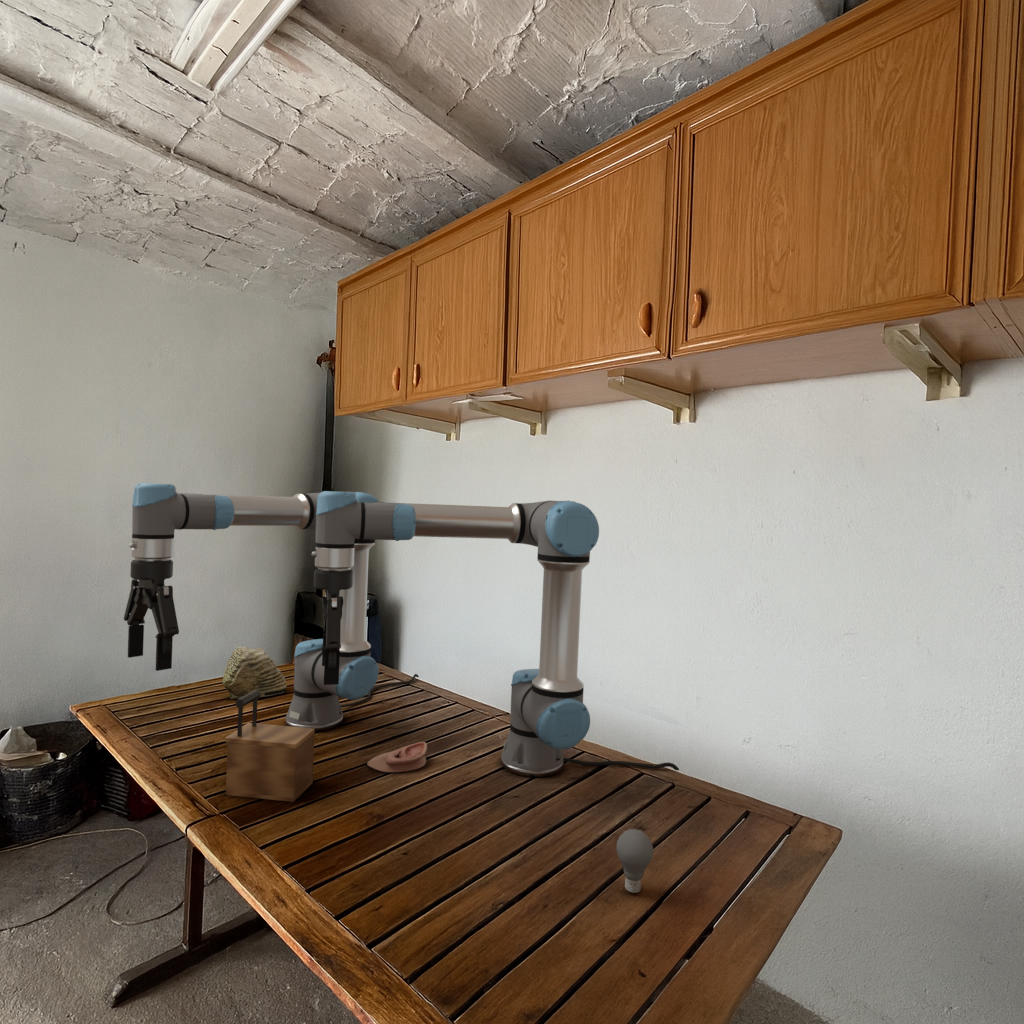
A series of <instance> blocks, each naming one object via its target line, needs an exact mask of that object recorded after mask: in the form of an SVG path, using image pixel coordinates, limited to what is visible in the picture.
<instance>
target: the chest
mask: <svg viewBox="0 0 1024 1024" xmlns="http://www.w3.org/2000/svg"><path fill="white" fill-rule="evenodd" d="M315 735H316V732H315V733H313V734H312V735H311V736H310V737H309V738H307V739H306V740H305V741H304V742H303V743H301V744H300V745H299V746H298V747H297V748H285V747H274V746H263V745H253V744H242V743H232V742H227V745H226V746H227V747H226V775H225V777H226V779H225V795H226V796H232V797H242V798H250V799H251V798H252V799H261V800H270V801H279V802H281V801H282V802H291V803H294V802H295V801H296V800H298V798H300V796H301V795H302V794H303V793H304V792H305V791H307V789H308V788H309V787H310V786H312V784H313V783H314V782H313V781H314V759H315V758H314V757H315Z"/></svg>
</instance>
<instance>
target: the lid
mask: <svg viewBox="0 0 1024 1024" xmlns="http://www.w3.org/2000/svg"><path fill="white" fill-rule="evenodd" d="M259 698H261V697H260V691H259V690H254V691H252V692H250V693H248V694H247V695H245V696H243V697H241V698H237V699H236V701H235V702H234V703H235V707H236V708H237V729H236V730H235V731H233V732H232V733H229V734H228V735H227V736H225V737H224V742H225V743H228V742H232V743H242V744H253V745H263V746H274V747H285V748H297V747H298V746H299V745H300V744H301V743H303V742H304V741H305V740H306V739H307V738H309V737H310V736H311V735H312V734H313V733H315V734H316V732H315V729H313V728H302V727H290V726H286V725H277V724H266V723H257V720H258V719H257V718H258V699H259ZM250 703H252V719H251V721H252V722H247V723H245V724H244V725H243V718H244V717H243V716H244V715H243V714H244V707H245V706H247V705H249V704H250Z"/></svg>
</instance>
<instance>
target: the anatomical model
mask: <svg viewBox="0 0 1024 1024" xmlns="http://www.w3.org/2000/svg"><path fill="white" fill-rule="evenodd" d="M427 752H428V744H427V743H426V742H425V741H420V742H415V743H412V744H409V745H405V746H402V747H399V748H398V749H394V750H391V751H389V752H384V753H381V754H379V755H376V756H374V757H372V758H371V759H369V760H368V761H367V763H366V764H367V766H368V767H370V768H371V769H373V770H375V771H379V772H383V773H402V772H409V771H414V770H418V769H421V768H422V767H424V766H425V765H426V764H427V758H426V754H427Z"/></svg>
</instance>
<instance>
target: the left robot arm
mask: <svg viewBox="0 0 1024 1024" xmlns="http://www.w3.org/2000/svg"><path fill="white" fill-rule="evenodd" d="M333 491H334V492H339V491H337V490H336V491H335V490H333ZM352 492H353V493H355V494H356V499H357V502H364V503H373V502H380V501H379V500H378V498H377V497H375V495H373V494H370V493H367V492H363V491H362V492H361V491H352ZM320 493H321V492H311V493H296V494H294V495H293V496H276V495H275V496H274V495H273V496H272V495H245V494H244V495H243V494H218V493H217V494H216V493H215V494H214V493H213V494H212V493H189V492H187V493H185V492H184V493H183V492H178V491H177V488H176V486H175V485H174V484H172V483H152V482H149V483H148V482H141V483H140V482H139V483H137V484H136V485H135V486H134V488H133V495H132V502H131V508H132V511H131V512H132V515H131V518H132V519H131V520H132V522H131V523H132V524H131V543H129V544H128V547H129V548H130V549H131V554H130V555H131V558H133V559H132V560H131V561H130V573H129V574H130V578H131V582H130V590H129V591H130V592H129V595H128V599H127V603H126V607H125V610H124V615H123V621H124V622H126V624H127V626H128V629H127V630H128V631H127V633H128V634H127V658H137V657H143V656H144V639H145V638H144V636H145V625H144V624H146V621H145V617H146V615H147V612H148V611H149V610H151V613H152V616H153V619H154V623H155V626H156V630H157V634H156V635H155V639H156V642H155V643H156V644H155V671H157V672H159V671H164V670H171V669H172V667H173V666H172V664H173V638H174V637H175V636H176V635H179V633H180V628H179V624H178V618H177V613H176V607H175V606H176V605H175V601H174V587H173V585H166V584H165V580H167V579H171V578H172V577H173V575H174V561H173V560H172V558H173V557H174V556H175V530H177V531H178V530H180V531H181V530H213V531H216V530H225V529H229V528H230V526H231V527H234V526H237V527H238V526H239V527H243V526H245V527H247V526H249V527H250V526H251V527H252V526H257V527H259V526H261V527H262V526H268V527H269V526H276V527H277V526H281V527H284V526H285V527H286V526H287V527H288V526H289V527H290V526H291V527H293V528H294V529H296V530H308V531H309V530H310V531H315V532H316V512H317V501H318V495H319V494H320ZM374 545H376V540H374V539H355V540H354V566H353V567H352V568H351V570H352V571H353V586H352V588H350V589H347V590H340V596H343V608H342V619H341V631H340V644H341V649H340V661H339V684H335V685H324V666H322V652H323V651H322V646H323V638H317V639H308V640H304V641H300V642H299V643H297V645H296V646H295V650H294V655H293V657H294V672H293V673H294V674H293V695H292V696H293V697H292V699H291V702H290V704H289V708H288V711H287V713H286V715H285V726H290V727H302V728H313V729H315V733H316V732H325V731H329V730H332V729H335V728H337V727H339V726H340V725H342V723H343V722H344V714H343V709H342V708H346V707H348V708H349V707H351V706H356V705H359V704H362V703H364V702H366V701H368V700H369V699H371V697H372V692H374V691H375V690H378V689H381V688H384V687H385V688H386V687H389V686H399V685H400V686H401V685H407V684H410V683H412V682H413V681H414V680H415V678H419V677H420V676H419V675H418V674H417V673H415V674H413V676H412V677H411V679H410V680H405V681H398V682H397V681H396V682H389V683H384V684H381V685H377V686H375V685H376V683H377V682H378V678H379V674H380V672H379V671H380V670H379V669H380V668H379V665H378V662H376V660H375V659H374V657H372V656H371V655H372V654H371V652H372V644H371V643H370V642H369V641H368V640H367V639H366V631H367V607H368V606H367V605H368V604H367V603H368V583H369V581H368V579H369V558H370V557H369V555H370V550H371V548H372V547H374ZM365 696H367V697H365ZM364 697H365V698H364ZM339 698H341V699H344V700H348V701H349V700H350V701H353V702H350V703H346V704H345V703H344V704H341V702H340V699H339Z"/></svg>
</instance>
